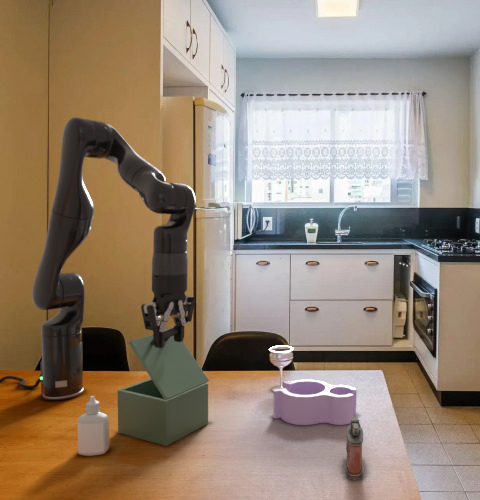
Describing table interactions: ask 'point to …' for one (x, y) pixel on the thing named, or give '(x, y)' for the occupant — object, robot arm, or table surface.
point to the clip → (314, 402)
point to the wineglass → (280, 358)
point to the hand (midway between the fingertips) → (169, 344)
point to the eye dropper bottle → (92, 430)
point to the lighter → (354, 449)
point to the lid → (169, 364)
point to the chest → (161, 412)
